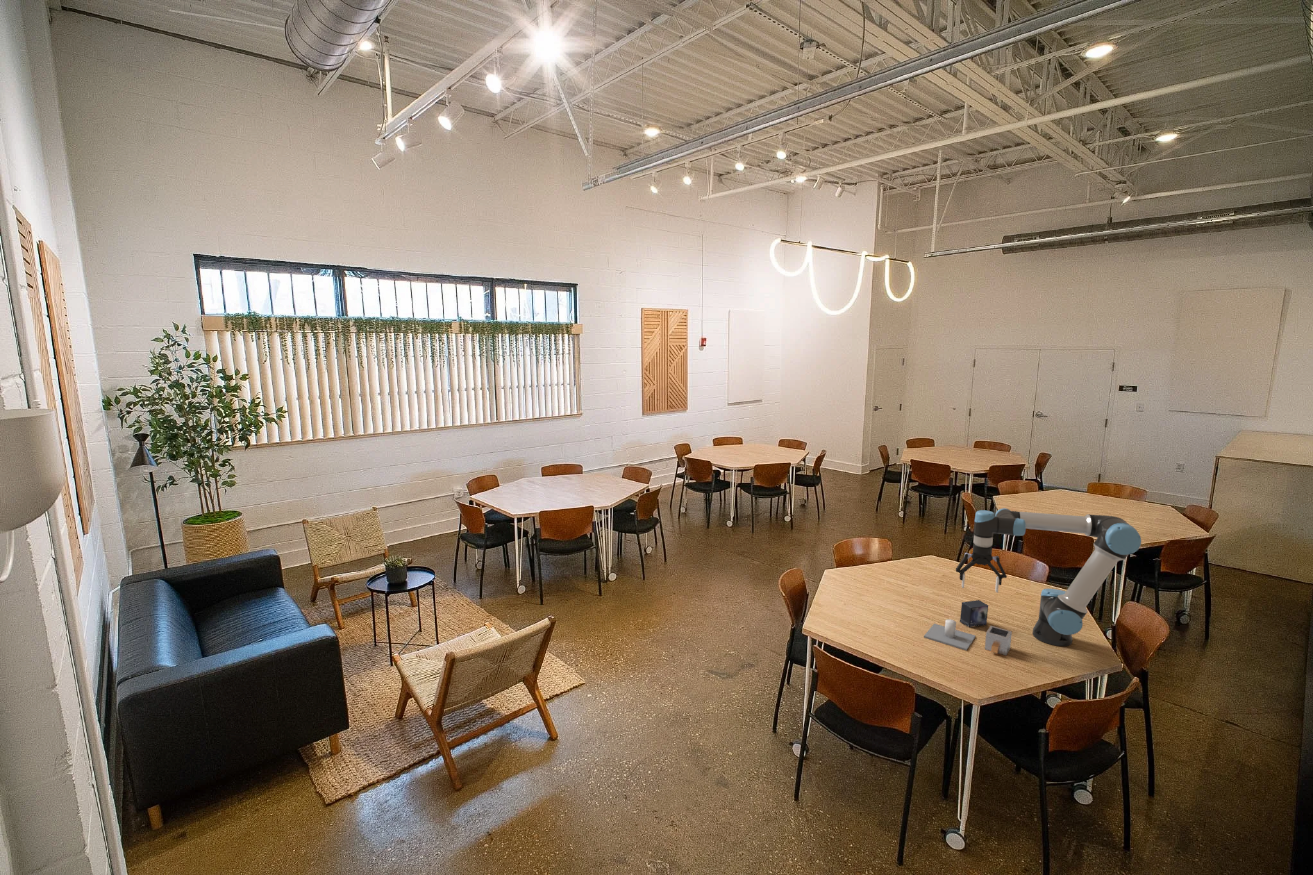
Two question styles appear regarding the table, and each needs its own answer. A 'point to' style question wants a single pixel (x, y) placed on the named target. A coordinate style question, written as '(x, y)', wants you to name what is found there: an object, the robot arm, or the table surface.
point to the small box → (974, 613)
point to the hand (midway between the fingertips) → (979, 589)
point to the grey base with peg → (950, 635)
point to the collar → (998, 640)
